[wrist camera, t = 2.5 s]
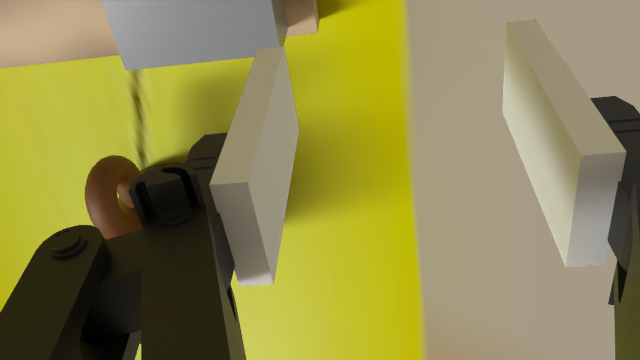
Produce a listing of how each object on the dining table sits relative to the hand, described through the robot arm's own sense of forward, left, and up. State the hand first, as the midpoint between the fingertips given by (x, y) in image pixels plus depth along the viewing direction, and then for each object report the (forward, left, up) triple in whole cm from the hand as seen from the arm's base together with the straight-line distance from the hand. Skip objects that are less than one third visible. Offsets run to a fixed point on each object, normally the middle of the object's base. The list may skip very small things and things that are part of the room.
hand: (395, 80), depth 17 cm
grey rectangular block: (-8, +4, -15) cm, 18 cm away
